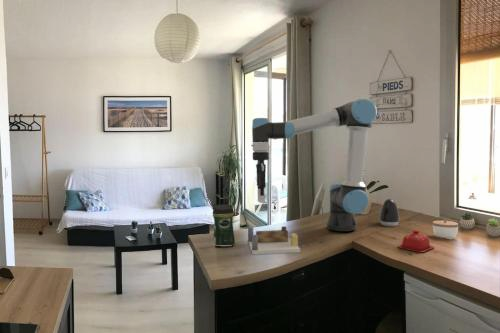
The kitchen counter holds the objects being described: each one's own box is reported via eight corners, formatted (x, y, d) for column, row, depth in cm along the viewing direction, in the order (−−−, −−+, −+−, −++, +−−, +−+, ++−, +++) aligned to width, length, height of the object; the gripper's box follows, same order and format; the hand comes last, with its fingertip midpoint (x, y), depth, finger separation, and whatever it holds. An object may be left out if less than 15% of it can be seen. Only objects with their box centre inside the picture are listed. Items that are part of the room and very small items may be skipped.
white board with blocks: (290, 241, 178) (290, 225, 178) (300, 252, 161) (300, 234, 160) (247, 243, 176) (247, 227, 176) (252, 254, 158) (252, 236, 158)
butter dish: (422, 254, 156) (422, 234, 155) (396, 249, 164) (396, 229, 164) (435, 249, 163) (436, 229, 162) (409, 244, 172) (410, 225, 171)
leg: (286, 239, 175) (286, 226, 175) (288, 241, 172) (287, 227, 172) (256, 240, 173) (256, 227, 173) (257, 242, 170) (256, 228, 170)
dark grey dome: (401, 226, 209) (401, 198, 208) (397, 229, 200) (397, 200, 199) (382, 224, 214) (382, 197, 214) (377, 227, 206) (377, 199, 205)
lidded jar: (457, 237, 182) (457, 217, 182) (458, 242, 172) (459, 222, 172) (432, 235, 187) (432, 216, 186) (432, 240, 177) (432, 220, 176)
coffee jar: (233, 242, 178) (232, 202, 177) (236, 247, 170) (235, 205, 169) (212, 244, 176) (211, 203, 175) (214, 248, 168) (213, 206, 167)
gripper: (250, 151, 186) (251, 199, 187) (254, 152, 170) (255, 204, 171) (265, 151, 186) (266, 199, 188) (271, 151, 171) (272, 204, 172)
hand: (261, 201), depth 179 cm, fingers open, 3 cm apart
